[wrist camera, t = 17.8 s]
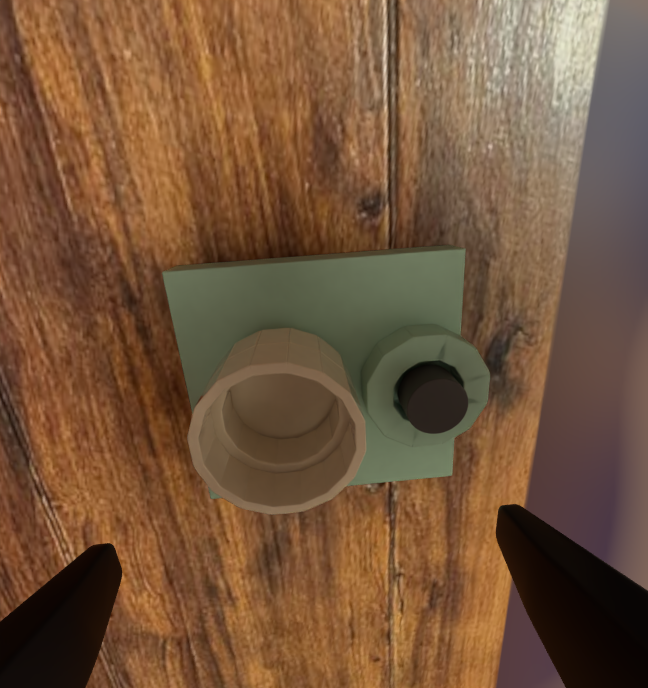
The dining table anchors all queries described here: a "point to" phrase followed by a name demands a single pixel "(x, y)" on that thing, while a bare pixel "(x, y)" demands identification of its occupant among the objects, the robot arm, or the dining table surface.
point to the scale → (344, 335)
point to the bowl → (278, 424)
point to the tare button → (432, 399)
